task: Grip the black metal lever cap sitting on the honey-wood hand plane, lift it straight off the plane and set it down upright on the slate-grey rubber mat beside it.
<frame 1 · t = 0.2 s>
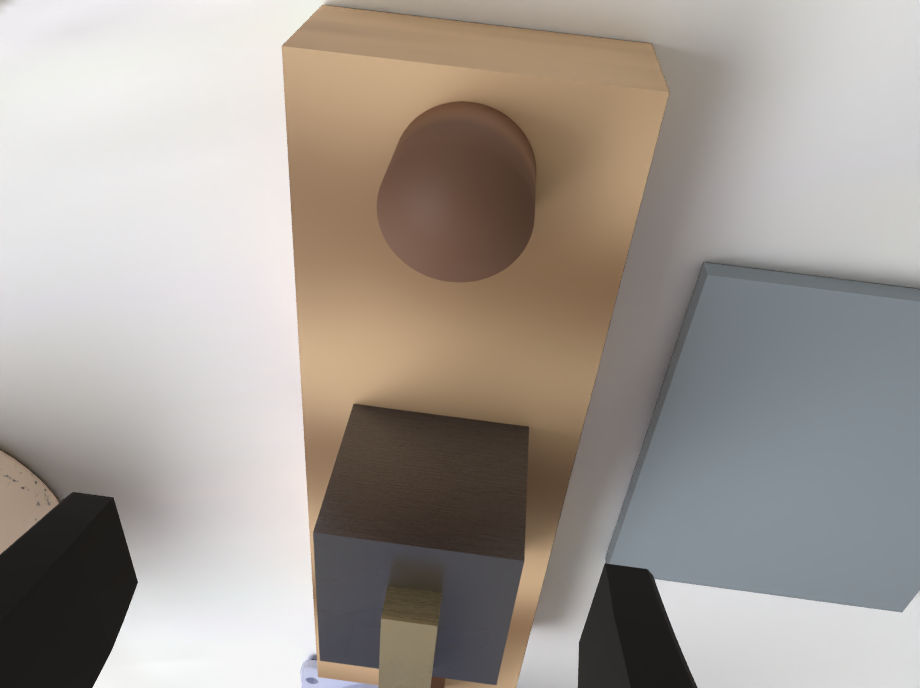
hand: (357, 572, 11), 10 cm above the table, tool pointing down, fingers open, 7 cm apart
slate mat: (814, 456, 22), on the table
hand plane: (446, 408, 23), on the table
lever cap: (434, 483, 20), point 3 cm above the table, touching hand plane
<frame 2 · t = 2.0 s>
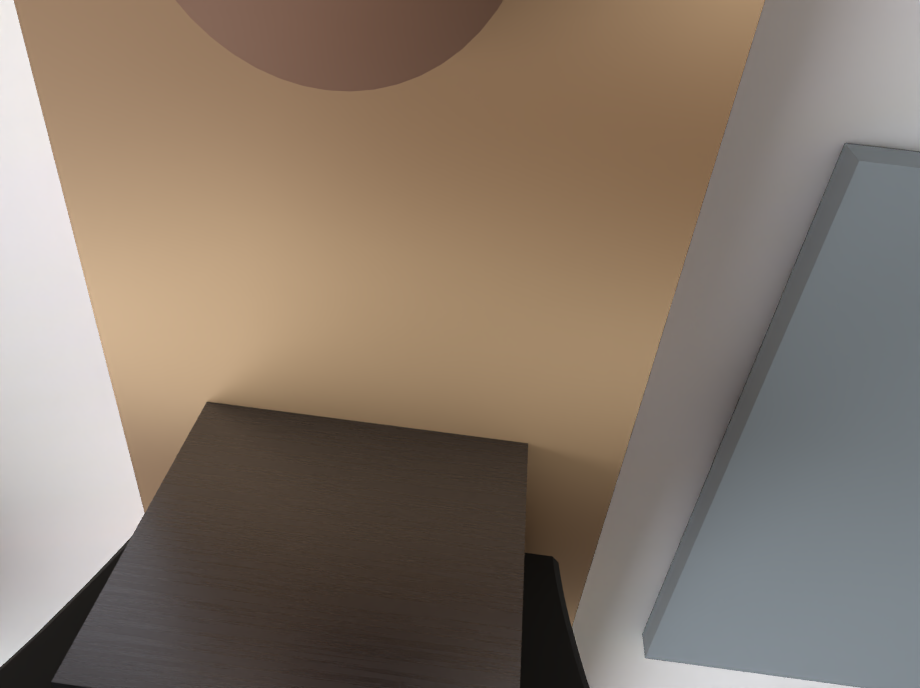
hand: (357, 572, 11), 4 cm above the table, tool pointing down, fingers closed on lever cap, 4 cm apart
hand plane: (396, 410, 14), on the table
lever cap: (365, 539, 12), point 3 cm above the table, touching gripper, hand plane
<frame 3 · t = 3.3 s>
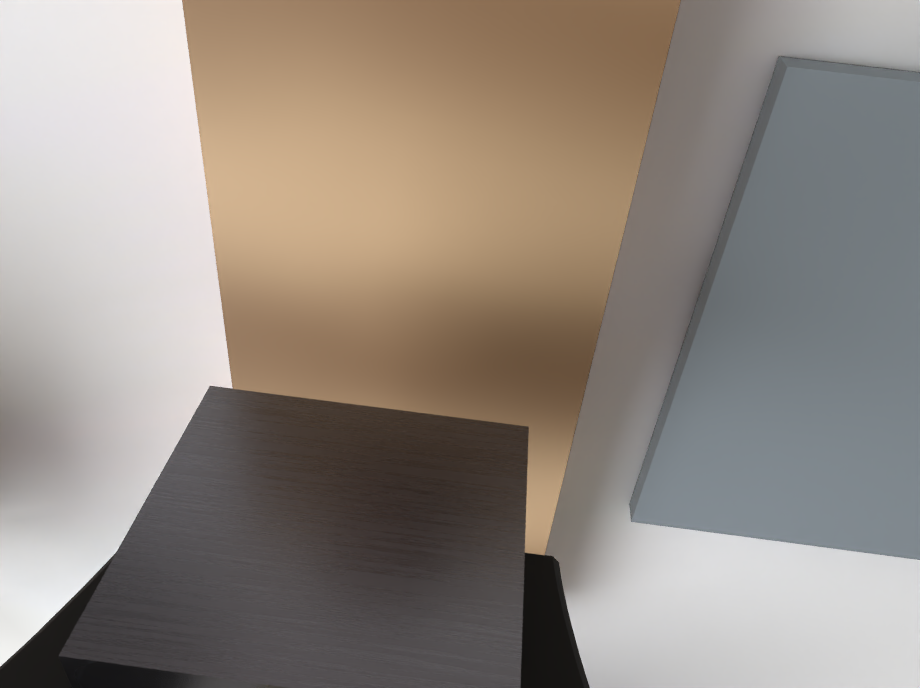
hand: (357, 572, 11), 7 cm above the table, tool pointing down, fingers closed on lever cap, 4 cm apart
slate mat: (911, 356, 17), on the table
hand plane: (424, 295, 17), on the table
lever cap: (366, 524, 12), point 7 cm above the table, touching gripper
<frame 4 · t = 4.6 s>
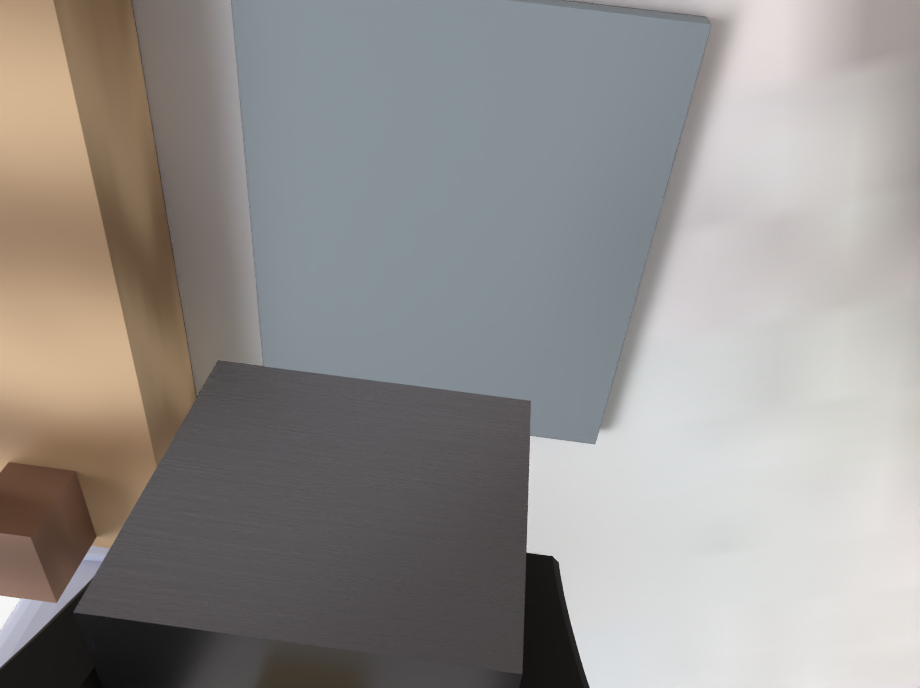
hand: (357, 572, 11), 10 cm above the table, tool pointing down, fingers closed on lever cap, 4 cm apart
slate mat: (448, 238, 20), on the table
hand plane: (33, 185, 20), on the table
lever cap: (371, 500, 12), point 9 cm above the table, touching gripper
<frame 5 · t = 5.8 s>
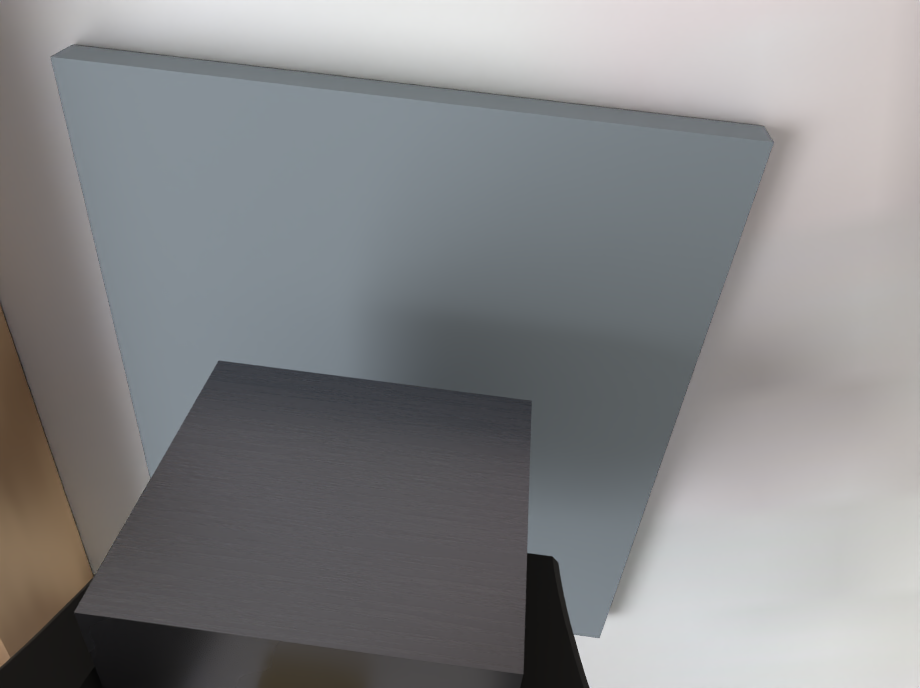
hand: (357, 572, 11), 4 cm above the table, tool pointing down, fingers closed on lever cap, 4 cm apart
slate mat: (398, 399, 14), on the table
lever cap: (371, 500, 12), point 3 cm above the table, touching gripper
when the fingers open (3 cm above the table, at t = 7.0 s): lever cap stays where it is, resting on slate mat.
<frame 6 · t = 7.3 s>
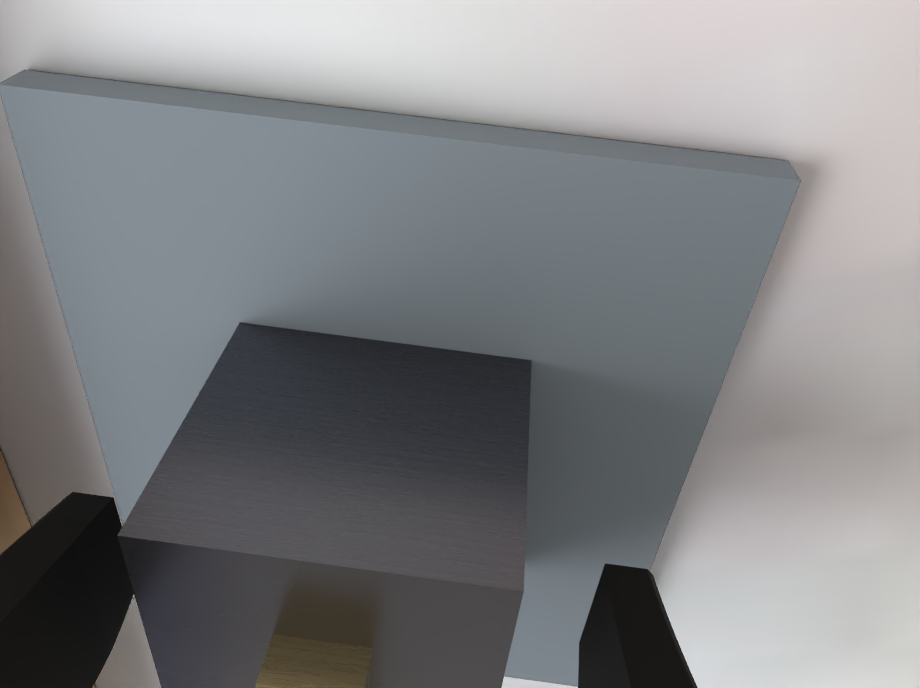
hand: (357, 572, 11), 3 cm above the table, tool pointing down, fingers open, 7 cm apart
slate mat: (388, 444, 13), on the table
lever cap: (380, 458, 13), point 1 cm above the table, touching slate mat
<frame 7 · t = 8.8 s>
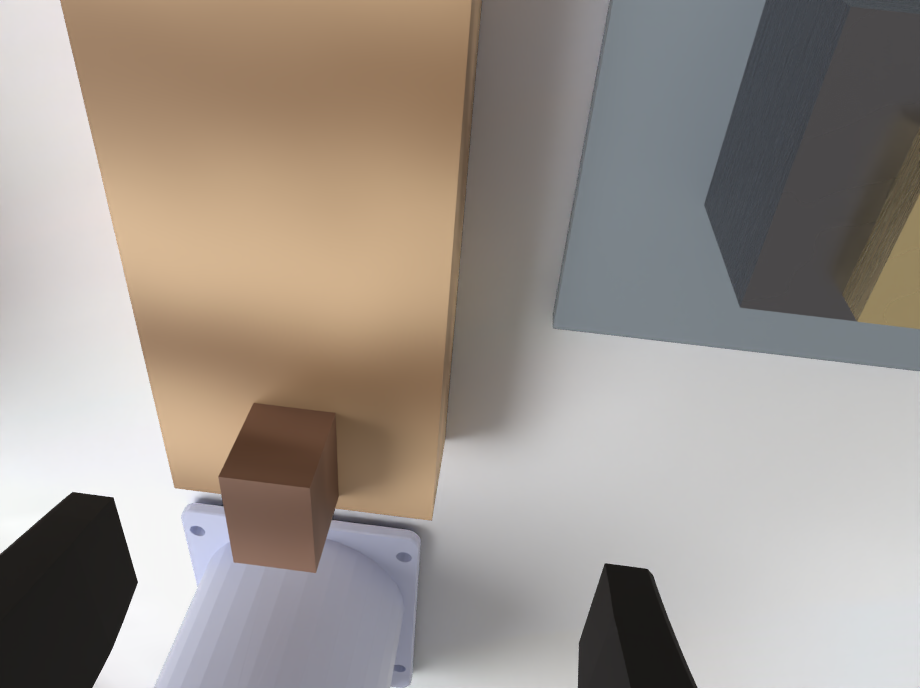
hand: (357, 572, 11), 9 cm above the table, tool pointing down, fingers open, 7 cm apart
slate mat: (837, 105, 15), on the table
hand plane: (311, 50, 16), on the table
lever cap: (850, 103, 15), point 1 cm above the table, touching slate mat
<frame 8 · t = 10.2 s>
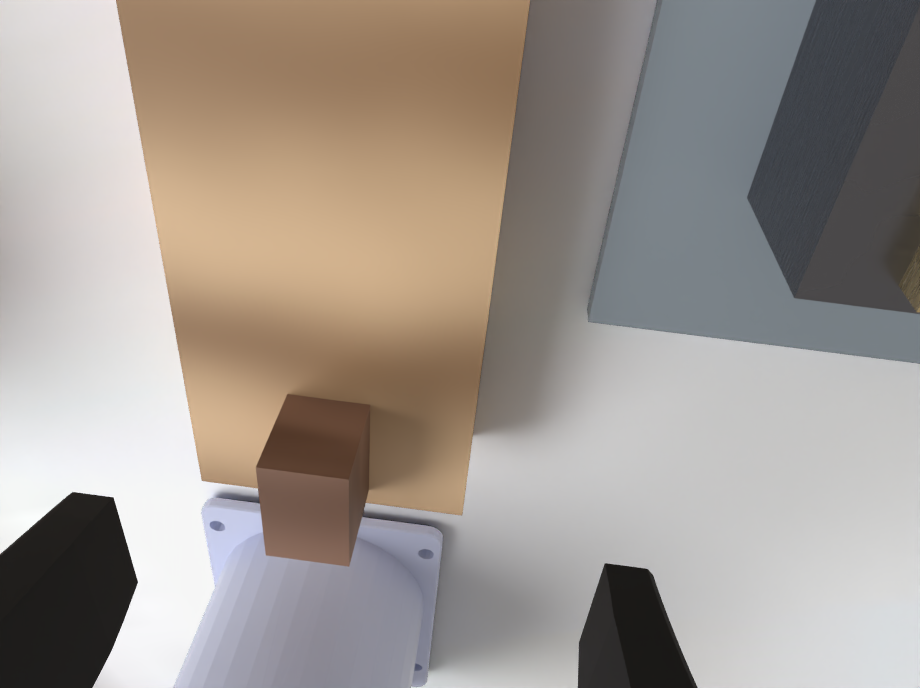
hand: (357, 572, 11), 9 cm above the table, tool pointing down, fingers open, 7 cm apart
slate mat: (884, 98, 15), on the table
hand plane: (355, 37, 16), on the table
lever cap: (899, 95, 15), point 1 cm above the table, touching slate mat
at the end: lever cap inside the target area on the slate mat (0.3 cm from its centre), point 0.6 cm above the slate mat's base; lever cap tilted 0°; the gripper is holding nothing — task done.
